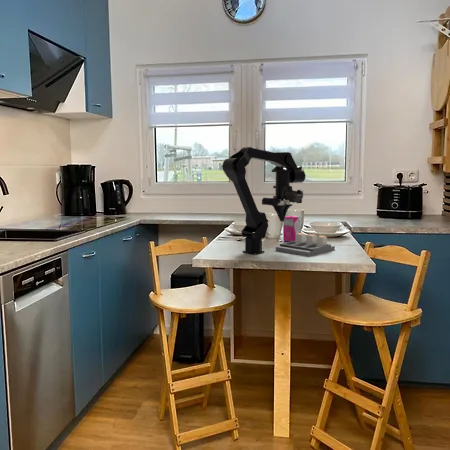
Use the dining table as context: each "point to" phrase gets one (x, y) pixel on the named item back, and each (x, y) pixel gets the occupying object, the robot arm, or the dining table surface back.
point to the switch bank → (304, 248)
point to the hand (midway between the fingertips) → (281, 221)
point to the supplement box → (291, 228)
